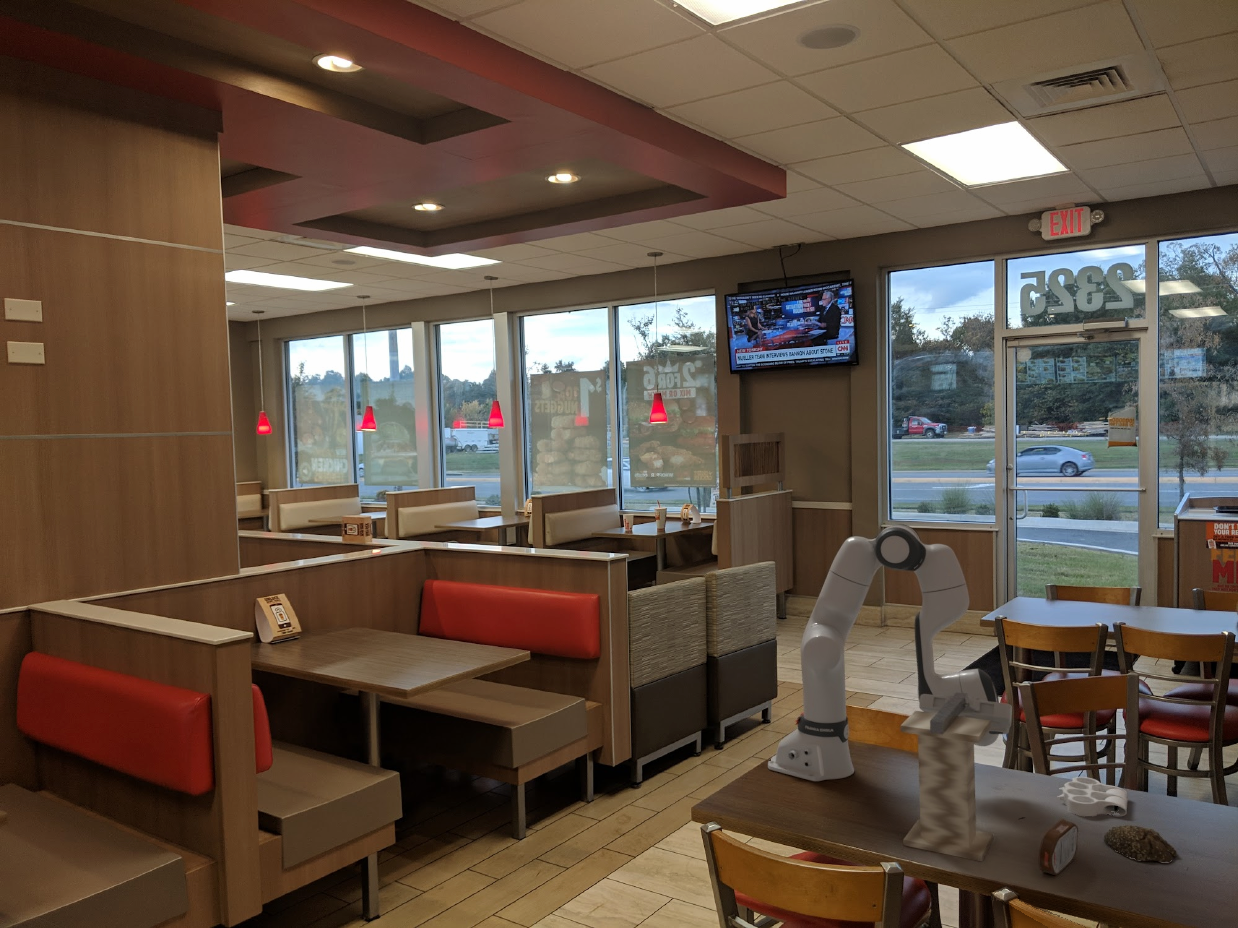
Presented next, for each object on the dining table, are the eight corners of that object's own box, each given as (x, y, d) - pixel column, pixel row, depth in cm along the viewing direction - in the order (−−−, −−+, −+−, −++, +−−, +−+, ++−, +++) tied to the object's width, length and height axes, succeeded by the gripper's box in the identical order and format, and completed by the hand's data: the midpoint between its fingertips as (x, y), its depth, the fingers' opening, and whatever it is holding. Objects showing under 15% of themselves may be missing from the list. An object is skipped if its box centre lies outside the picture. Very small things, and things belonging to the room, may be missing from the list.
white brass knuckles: (1126, 824, 204) (1053, 813, 212) (1128, 796, 220) (1060, 786, 227) (1125, 809, 204) (1053, 798, 212) (1127, 782, 220) (1060, 773, 227)
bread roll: (1097, 838, 198) (1096, 815, 198) (1155, 837, 197) (1154, 814, 197) (1128, 865, 185) (1127, 841, 185) (1190, 864, 185) (1190, 840, 185)
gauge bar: (942, 734, 190) (942, 722, 190) (930, 732, 191) (930, 720, 191) (967, 704, 210) (967, 693, 210) (956, 702, 211) (956, 692, 211)
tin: (1065, 852, 191) (1064, 812, 191) (1081, 856, 189) (1080, 816, 189) (1037, 877, 181) (1036, 835, 181) (1053, 883, 179) (1053, 840, 178)
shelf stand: (903, 844, 197) (900, 725, 196) (918, 824, 207) (915, 710, 206) (981, 861, 188) (978, 736, 188) (993, 838, 198) (990, 720, 198)
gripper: (927, 697, 225) (913, 681, 215) (1017, 708, 214) (1007, 691, 204) (925, 723, 222) (910, 707, 212) (1015, 735, 211) (1005, 719, 201)
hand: (958, 699), depth 208 cm, fingers closed on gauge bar, 2 cm apart
